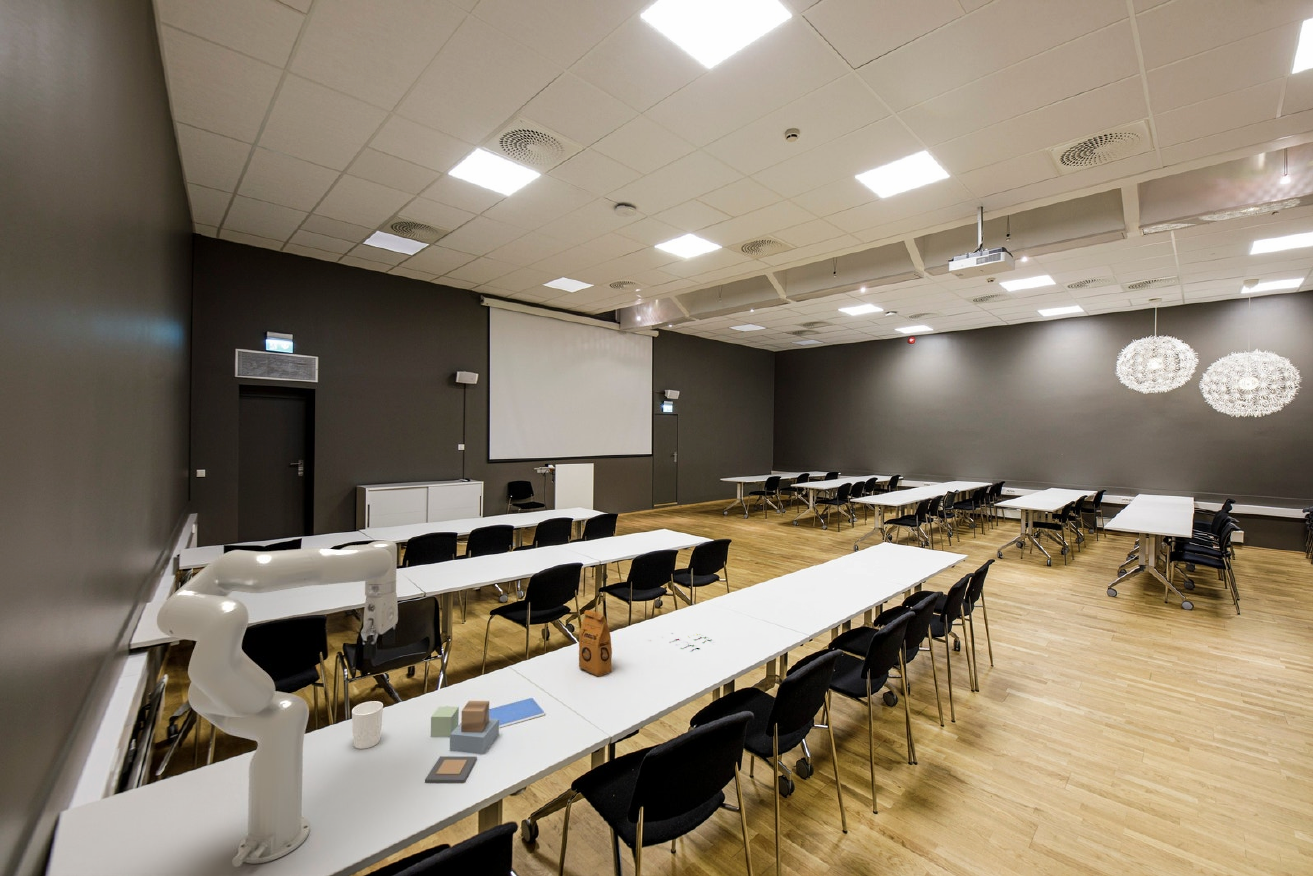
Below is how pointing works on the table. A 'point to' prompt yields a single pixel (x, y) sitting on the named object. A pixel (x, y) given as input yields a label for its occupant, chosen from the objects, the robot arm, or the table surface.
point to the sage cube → (444, 721)
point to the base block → (474, 738)
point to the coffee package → (595, 644)
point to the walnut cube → (475, 716)
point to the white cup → (367, 724)
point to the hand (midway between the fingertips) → (379, 651)
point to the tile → (451, 769)
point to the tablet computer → (516, 712)
